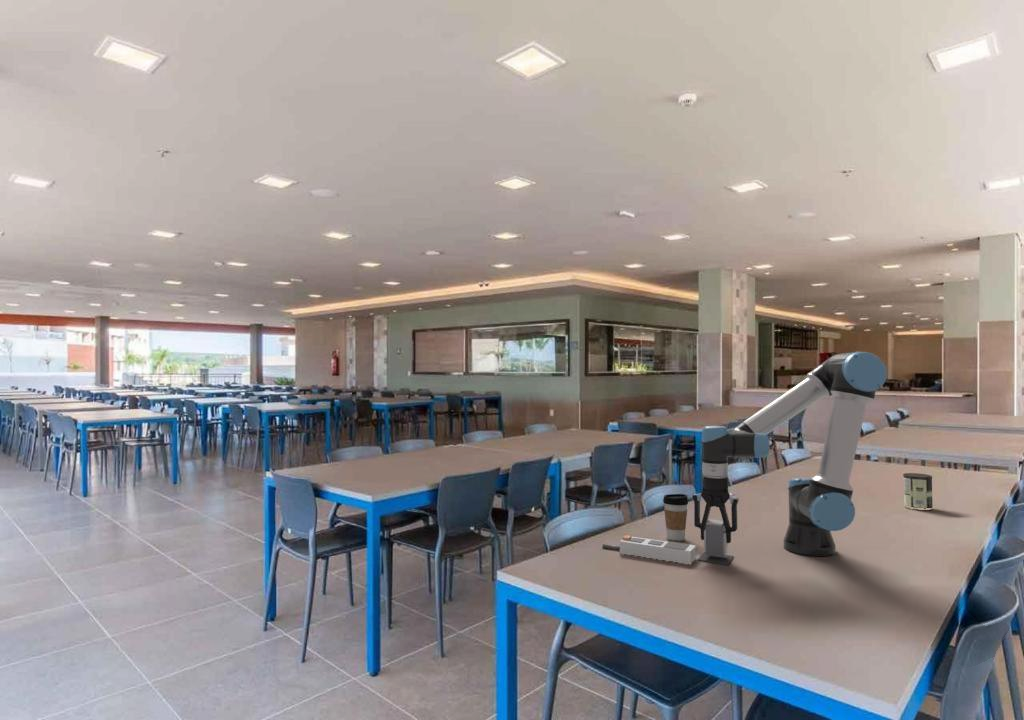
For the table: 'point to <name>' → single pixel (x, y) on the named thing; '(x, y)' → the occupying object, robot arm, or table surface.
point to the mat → (716, 559)
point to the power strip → (656, 549)
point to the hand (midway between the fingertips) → (715, 551)
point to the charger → (715, 538)
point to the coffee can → (917, 490)
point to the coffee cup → (675, 515)
